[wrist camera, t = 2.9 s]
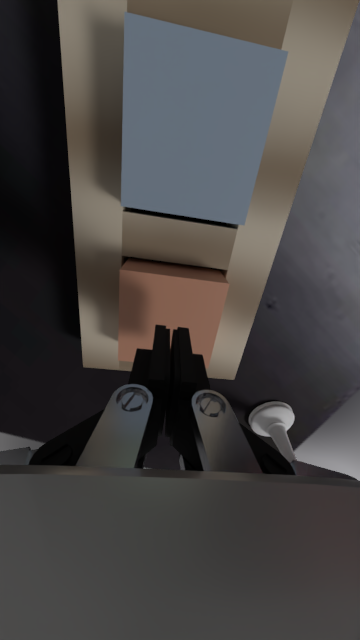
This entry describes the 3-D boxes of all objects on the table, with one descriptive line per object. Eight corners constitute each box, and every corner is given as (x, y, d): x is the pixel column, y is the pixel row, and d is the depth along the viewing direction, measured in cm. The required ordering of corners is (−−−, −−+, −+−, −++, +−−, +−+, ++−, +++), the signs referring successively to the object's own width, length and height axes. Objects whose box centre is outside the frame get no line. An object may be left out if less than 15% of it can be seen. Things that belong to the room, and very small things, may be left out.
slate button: (136, 62, 10) (124, 11, 8) (259, 89, 11) (288, 51, 8) (131, 206, 13) (120, 206, 10) (229, 221, 13) (244, 225, 11)
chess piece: (247, 404, 24) (293, 522, 15) (293, 397, 24) (368, 513, 15) (248, 433, 26) (289, 551, 17) (290, 427, 26) (354, 543, 17)
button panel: (65, -462, 7) (-8, -921, 4) (418, -306, 8) (550, -577, 5) (95, 345, 20) (83, 366, 17) (225, 357, 21) (233, 379, 18)
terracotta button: (129, 257, 14) (119, 269, 12) (218, 269, 15) (229, 283, 12) (126, 336, 17) (117, 360, 14) (202, 344, 18) (208, 368, 15)
